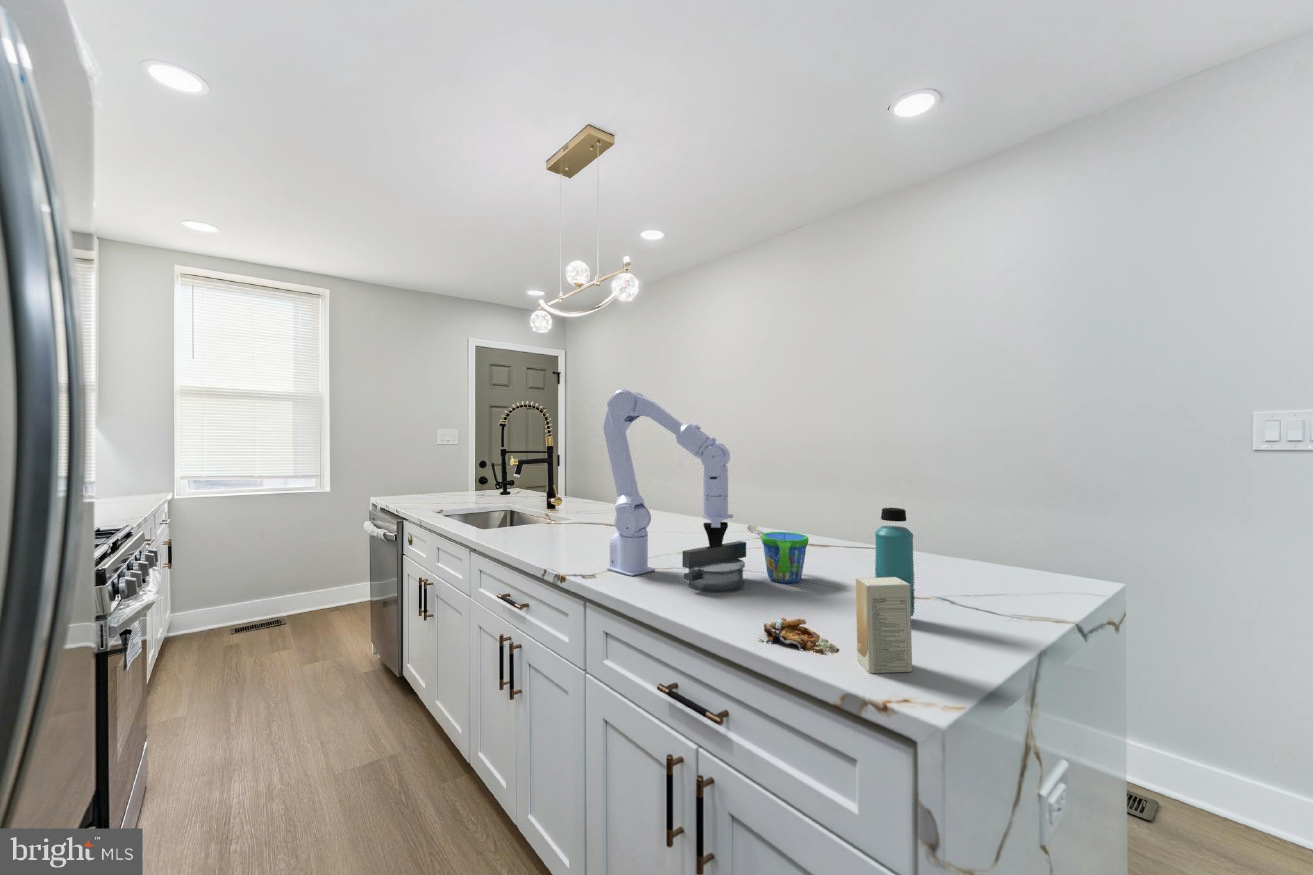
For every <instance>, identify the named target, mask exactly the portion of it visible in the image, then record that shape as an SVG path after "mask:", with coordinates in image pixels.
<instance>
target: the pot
mask: <svg viewBox="0 0 1313 875" xmlns="http://www.w3.org/2000/svg"><path fill="white" fill-rule="evenodd" d="M745 563H746V562H745V561H744V568H745V567H746V566H745V565H746V564H745ZM744 568H743V569H741V570H738V571H733V572H705V571H699V570H694V569H691V568H690V569H688V572H684V573H683V580H685V581H688V587H690V588H692V589H693V590H696V591H700V592H706V593H730V592H732V593H733V592H737V591H739V590H741V589H743V588H744Z"/></svg>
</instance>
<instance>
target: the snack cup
mask: <svg viewBox="0 0 1313 875" xmlns="http://www.w3.org/2000/svg"><path fill="white" fill-rule="evenodd" d="M760 536H761V538H760V539H761V540H760V541H761V544H762V545H763V552H764V559H765V567H766V568H765V569H766V572H767V577H768V579H769V580H770V581H774V582H777V583H779V584H781V583H782V584H792V583H793V584H795V583H797V582H800V581H801V580H802V577H803V570H804V565H805V559H806V553H807V552H806V551H807V546H808V544H809V536H808V535H806V534H803V533H798V532H790V531H789V532H788V531H770V532H765V533H762V534H761V535H760Z"/></svg>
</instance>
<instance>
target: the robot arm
mask: <svg viewBox="0 0 1313 875" xmlns="http://www.w3.org/2000/svg"><path fill="white" fill-rule="evenodd" d="M606 404H607V411H606V414H605V418H604V422H603V425H602V426H603V429H602V431H603V434H604V440H605V444H606V448H607V453H608V457H609V458H608V459H609V462H610V467H611V472H612V477H613V481H614V486H615V492H616V495H617V499H616V502H615V506H614V508H615V518H614V526H615V529H616V531H617V532H616V533H615V534H613V536H612V537H611V538H610V542H609V566H607V567H606V570H609V571H612V572H616V573H620V574H623V575H627V576H629V577H630V576H631V577H632V576H636V575H640V574H647V573H650V572H655V571H656V568H653V567H650V566H648V565H649V563H648V561H649V560H648V559H649V553H648V552H649V549H648V548H649V546H648V545H649V536H648V535H649V532H648V530H647V529H648V527H649V526H650V523H651V522H652V515H651V512H650V510H649V509H648V508H647V507H646V505H645V500H644V498H643V497H642V495H640V491H639V487H638V484H637V478H636V474H635V468H634V464H633V461H632V455H631V450H630V446H629V442H628V437H627V430H628V429H629V428H630V426H631V425H632V424H633V422H635V421H636V420H637V419H638V418H639V419H640V418H641V417H647V418H649V419H651V420H653V421H654V422H656V423H657V424H659V425H660V426H662V427H663V428H664V429H666V430H667V431H668V432H671V434H673V435H675V440H676V443H677V444H678V445H679V446H681V447H682V448H684V449H685V450H686V451H687V452H689V454H691V455H693V456H694V457H696V458H697V459H700V461H701V464H702V465H703V498H702V499H703V503H702V504H703V509H702V511H703V512H702V518H703V519H705V520H707V521H709V522H704V523H703V524H702V526H703V528H704V530H705V534H706V535H707V540H708V546H714V545H720V544H723V541H724V537H725V534H726V532H727V529H728V528H729V524H728V522H727V521H725V520H728V519H733V518H734V514H733V513H729V475H728V471H729V468H728V465H727V464H729V462H730V459H731V453H730V451H729V449H728V448H727V447H726V445H725V444H724V443H717V440H718V439H716V437H710V435H708V434H707V433H705V432H704V431H702V430H701V429H702V427H701V426H700V425H698V424H695V425H694V424H693V423H688V424H684V423H682V422H681V421H680V420H679V419H677V418H676V417H674V416H673V415H672V414H671V413H670V412H668V411H667V410H666V409H665V408H663V407H662V406H660V405H659V403H657V402H656V401H654V400H653V399H651V398H649V397H646V396H644V395H643V394H642V393H640V392H634V391H630V390H628V389H622V388H621V389H619V390H616V391H614V392H613V394H612V395H611V397H609V399H608V400H607V402H606Z"/></svg>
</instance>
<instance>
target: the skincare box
mask: <svg viewBox="0 0 1313 875" xmlns="http://www.w3.org/2000/svg"><path fill="white" fill-rule="evenodd" d="M855 591H856V592H855V602H856V603H855V604H856V607H855V608H856V650H857V652H856V654H857V656H856V657H857V662H858V663H859V664H860V665H861V666H862V667H863V668H864V669H865V670H866V672H868V673H869V674H880V673H886V674H887V673H906V672H908V673H909V672H913V652H912V650H913V648H912V644H913V643H912V616H911V602H910V584H908V583H906V582H904V581H903V580H901V579H899V578H897V577H879V578H876V577H856V578H855Z"/></svg>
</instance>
